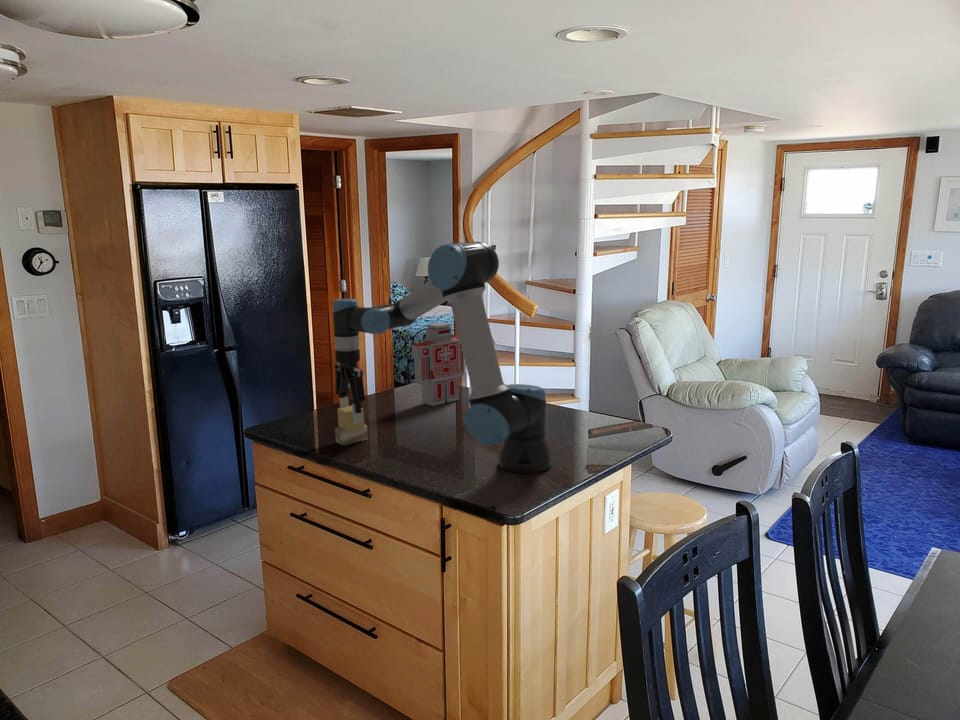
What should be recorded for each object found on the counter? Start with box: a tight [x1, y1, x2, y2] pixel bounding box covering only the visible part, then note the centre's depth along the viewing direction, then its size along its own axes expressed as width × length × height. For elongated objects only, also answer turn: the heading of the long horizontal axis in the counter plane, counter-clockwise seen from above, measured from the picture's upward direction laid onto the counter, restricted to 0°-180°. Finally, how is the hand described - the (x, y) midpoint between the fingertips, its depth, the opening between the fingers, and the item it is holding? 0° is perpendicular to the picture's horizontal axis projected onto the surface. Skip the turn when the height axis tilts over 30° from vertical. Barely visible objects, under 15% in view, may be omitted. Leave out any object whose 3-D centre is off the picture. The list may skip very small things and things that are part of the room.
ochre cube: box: [337, 405, 365, 431], centre depth 228 cm, size 6×6×6 cm
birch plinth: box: [334, 424, 369, 446], centre depth 229 cm, size 4×9×5 cm, turn 129°
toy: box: [411, 322, 465, 407], centre depth 272 cm, size 22×8×30 cm, turn 132°
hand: (351, 419), depth 229 cm, fingers open, 7 cm apart
